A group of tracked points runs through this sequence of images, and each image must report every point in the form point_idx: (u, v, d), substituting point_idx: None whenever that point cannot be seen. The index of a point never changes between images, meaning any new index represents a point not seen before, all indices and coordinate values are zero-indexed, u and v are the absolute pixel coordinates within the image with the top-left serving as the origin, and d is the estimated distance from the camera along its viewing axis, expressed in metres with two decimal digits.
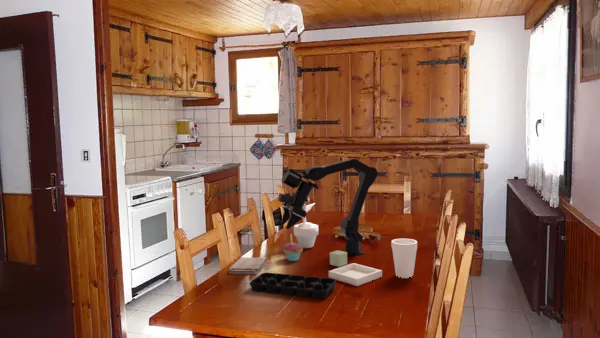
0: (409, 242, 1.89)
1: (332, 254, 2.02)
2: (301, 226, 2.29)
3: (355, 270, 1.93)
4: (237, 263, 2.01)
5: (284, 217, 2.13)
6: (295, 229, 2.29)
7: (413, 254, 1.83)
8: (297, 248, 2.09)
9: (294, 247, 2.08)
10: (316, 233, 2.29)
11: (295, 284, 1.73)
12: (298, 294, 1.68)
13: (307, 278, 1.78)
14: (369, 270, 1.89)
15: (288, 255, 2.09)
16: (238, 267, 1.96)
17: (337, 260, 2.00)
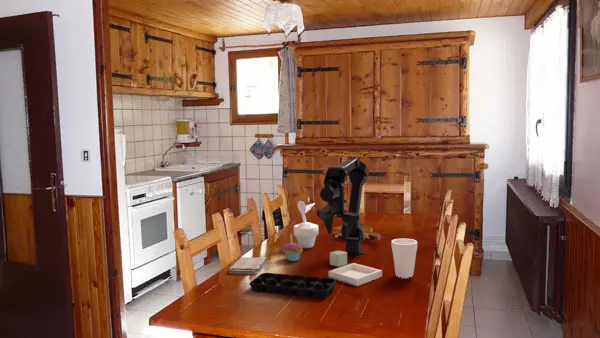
0: (409, 242, 1.89)
1: (332, 254, 2.02)
2: (301, 226, 2.29)
3: (355, 270, 1.93)
4: (237, 263, 2.01)
5: (328, 226, 2.05)
6: (295, 229, 2.29)
7: (413, 254, 1.83)
8: (297, 248, 2.09)
9: (294, 247, 2.08)
10: (316, 233, 2.29)
11: (295, 284, 1.74)
12: (298, 294, 1.68)
13: (307, 278, 1.78)
14: (369, 270, 1.89)
15: (288, 255, 2.09)
16: (238, 267, 1.96)
17: (337, 260, 2.00)
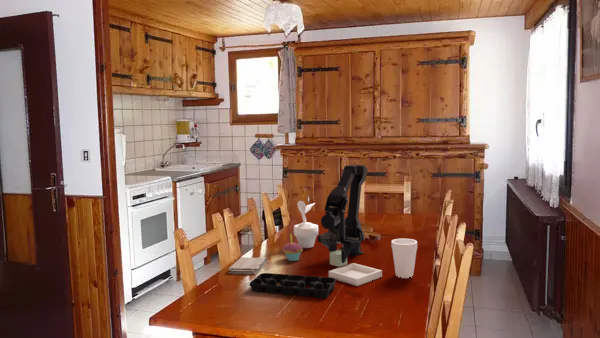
0: (409, 242, 1.89)
1: (332, 254, 2.02)
2: (301, 226, 2.29)
3: (355, 270, 1.93)
4: (237, 263, 2.01)
5: None
6: (295, 229, 2.29)
7: (413, 254, 1.83)
8: (297, 248, 2.09)
9: (294, 247, 2.08)
10: (316, 233, 2.29)
11: (295, 284, 1.74)
12: (299, 294, 1.68)
13: (306, 278, 1.79)
14: (369, 270, 1.89)
15: (288, 255, 2.09)
16: (237, 267, 1.96)
17: (337, 260, 2.00)
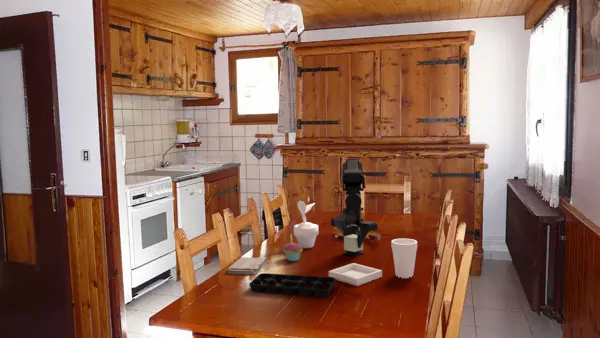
0: (409, 242, 1.89)
1: (347, 238, 1.84)
2: (301, 226, 2.29)
3: (355, 270, 1.93)
4: (236, 263, 2.01)
5: None
6: (295, 229, 2.29)
7: (413, 254, 1.83)
8: (297, 248, 2.09)
9: (294, 247, 2.08)
10: (316, 233, 2.29)
11: (295, 284, 1.74)
12: (300, 294, 1.68)
13: (306, 277, 1.79)
14: (369, 270, 1.89)
15: (288, 255, 2.09)
16: (237, 267, 1.96)
17: (352, 244, 1.83)
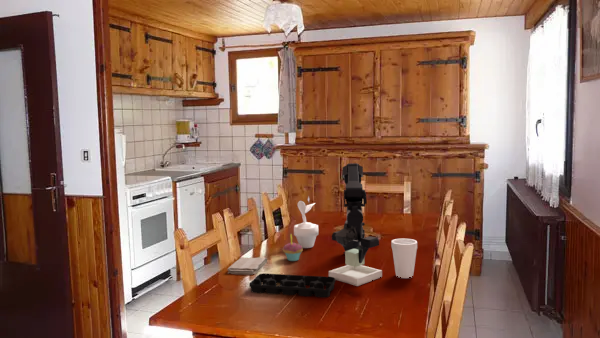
0: (409, 242, 1.89)
1: (348, 253, 1.85)
2: (301, 226, 2.29)
3: (355, 270, 1.93)
4: (236, 263, 2.01)
5: None
6: (295, 229, 2.29)
7: (413, 254, 1.83)
8: (297, 248, 2.09)
9: (294, 247, 2.08)
10: (316, 233, 2.29)
11: (295, 284, 1.74)
12: (300, 293, 1.69)
13: (306, 277, 1.79)
14: (369, 270, 1.89)
15: (288, 255, 2.09)
16: (236, 267, 1.96)
17: (354, 259, 1.83)
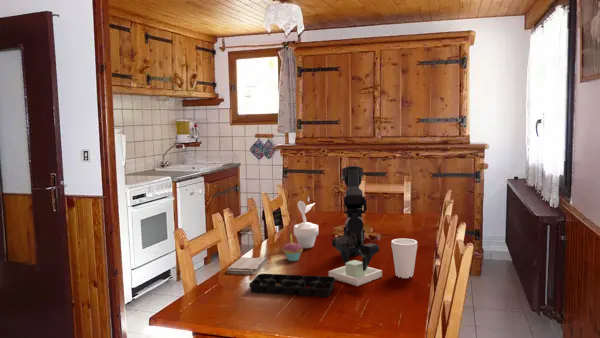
0: (409, 242, 1.89)
1: (348, 264, 1.85)
2: (301, 226, 2.29)
3: None
4: (236, 263, 2.01)
5: (345, 257, 1.89)
6: (295, 229, 2.29)
7: (413, 254, 1.83)
8: (297, 248, 2.09)
9: (294, 247, 2.08)
10: (316, 233, 2.29)
11: (295, 284, 1.74)
12: (301, 293, 1.69)
13: (305, 277, 1.79)
14: (369, 270, 1.89)
15: (288, 255, 2.09)
16: (236, 267, 1.96)
17: (354, 271, 1.83)
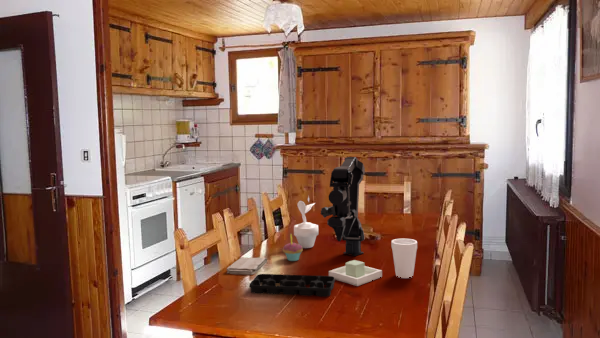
0: (409, 242, 1.89)
1: (348, 264, 1.85)
2: (301, 226, 2.29)
3: None
4: (236, 263, 2.01)
5: (345, 227, 2.03)
6: (295, 229, 2.29)
7: (413, 254, 1.83)
8: (297, 248, 2.09)
9: (294, 247, 2.08)
10: (316, 233, 2.29)
11: (295, 283, 1.74)
12: (301, 293, 1.69)
13: (305, 277, 1.79)
14: (369, 270, 1.89)
15: (288, 255, 2.09)
16: (236, 267, 1.96)
17: (354, 271, 1.83)
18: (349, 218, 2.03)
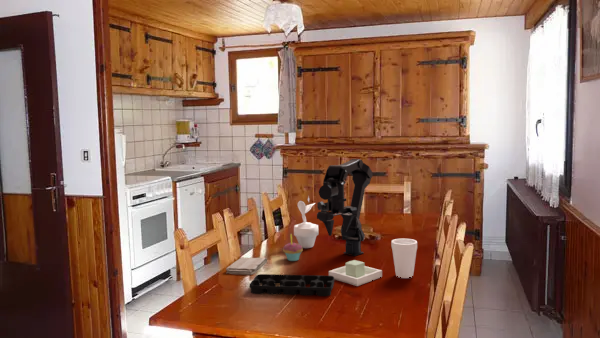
0: (409, 242, 1.89)
1: (348, 264, 1.85)
2: (301, 226, 2.29)
3: None
4: (235, 263, 2.01)
5: (344, 224, 2.08)
6: (295, 229, 2.29)
7: (413, 254, 1.83)
8: (297, 248, 2.09)
9: (294, 247, 2.08)
10: (316, 233, 2.29)
11: (295, 283, 1.74)
12: (302, 293, 1.69)
13: (304, 277, 1.80)
14: (369, 270, 1.89)
15: (288, 255, 2.09)
16: (235, 267, 1.96)
17: (354, 271, 1.83)
18: (348, 215, 2.07)
